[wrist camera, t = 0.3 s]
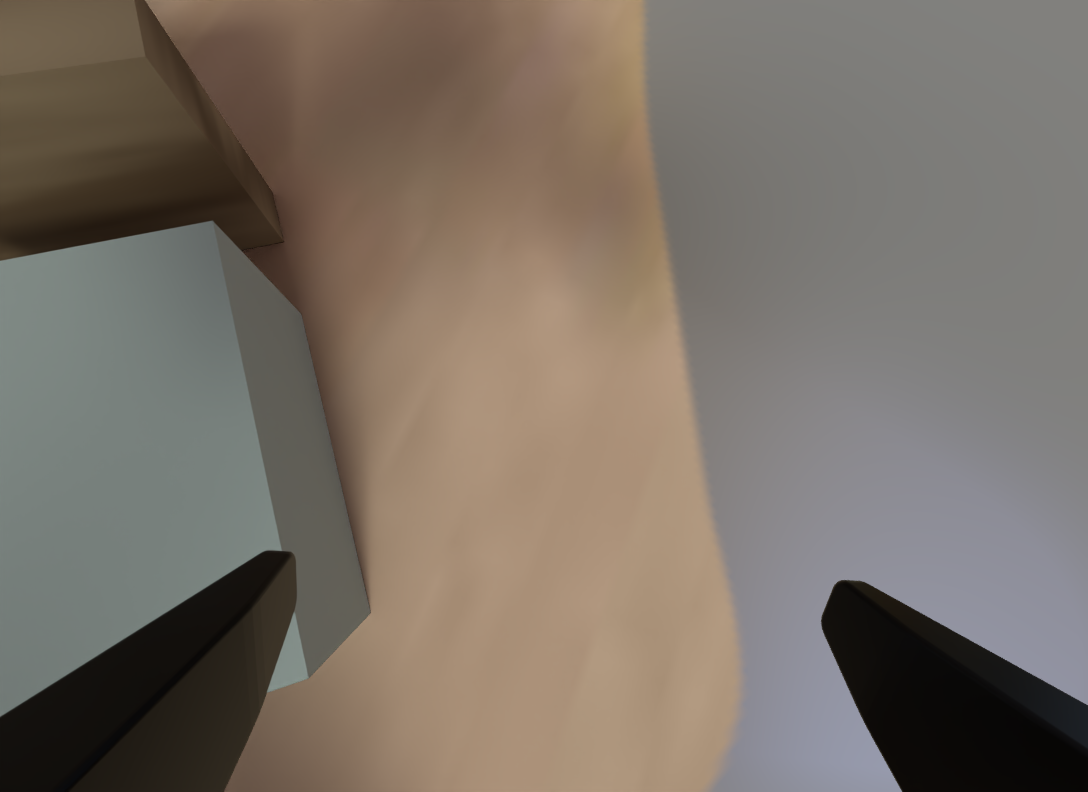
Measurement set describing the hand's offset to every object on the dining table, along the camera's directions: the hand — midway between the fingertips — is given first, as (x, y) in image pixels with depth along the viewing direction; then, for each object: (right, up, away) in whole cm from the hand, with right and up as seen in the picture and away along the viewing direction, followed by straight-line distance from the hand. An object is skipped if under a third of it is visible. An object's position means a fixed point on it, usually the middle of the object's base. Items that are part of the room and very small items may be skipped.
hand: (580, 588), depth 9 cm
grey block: (-14, -1, +13) cm, 19 cm away
